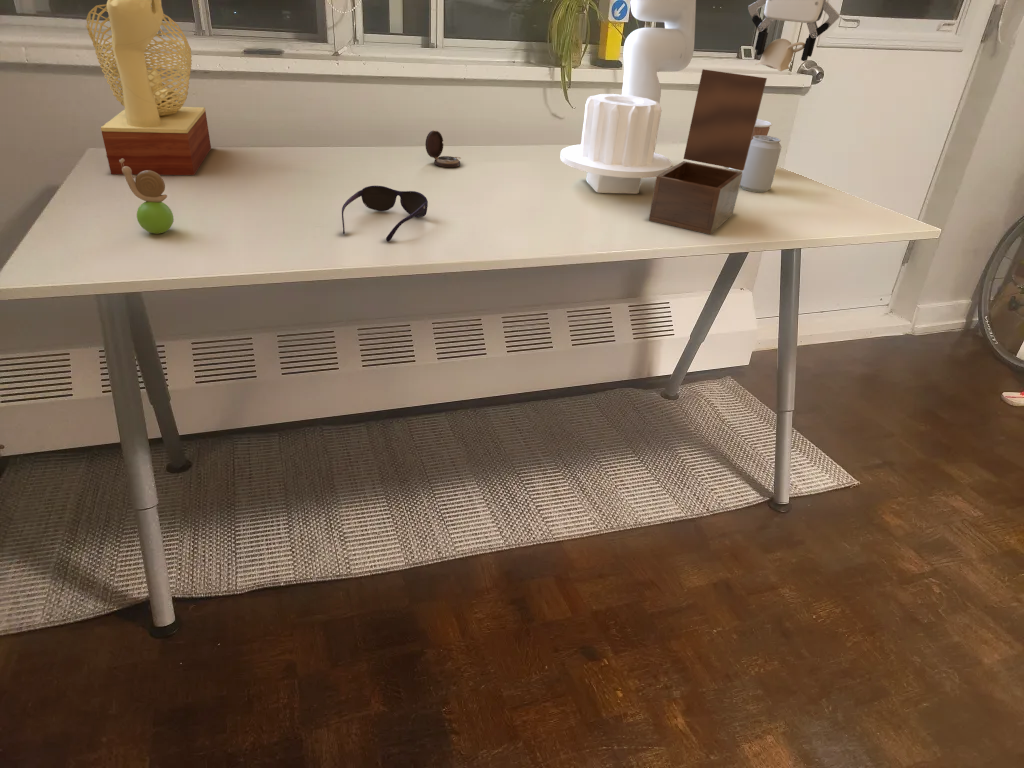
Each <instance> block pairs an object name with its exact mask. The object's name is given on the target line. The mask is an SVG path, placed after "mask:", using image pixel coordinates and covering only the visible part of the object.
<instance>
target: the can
mask: <svg viewBox="0 0 1024 768" xmlns="http://www.w3.org/2000/svg"><path fill="white" fill-rule="evenodd" d="M780 142H781V139H780V138H778V137H775V136H770V135H767V136H764V135H755V136H753V139H752V140H751V143H750V147H749V151H748V155H747V159H746V163H745V167H744V170H742V172H743V174H742V178H741V182H740V187H741V188H742V189H743V190H744V191H747V192H751V193H766V192H768V191H769V190H771V189H772V185H773V182H774V178H775V175H776V171H777V166H778V162H779V159H780V154H781V152H782V144H781V143H780Z"/></svg>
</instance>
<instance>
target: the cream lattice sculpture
mask: <svg viewBox="0 0 1024 768" xmlns="http://www.w3.org/2000/svg"><path fill="white" fill-rule="evenodd" d="M98 9H101V11H100V12H98V13H97V11H98ZM105 12H107V14H108V16H107V17H106V16H103V14H104V13H105ZM91 15H92V17H91ZM96 16H97V17H96ZM95 18H96V20H95ZM100 18H103V19H104V20H102V22H100ZM167 19H168V20H167ZM85 21H86V25H85V27H86V29H87V32H88V33H87V34H88V36H89V38H90V40H91V41H92V45H93V48H94V49H95V51H94V52H95V55H96V58H97V60H98V63H99V64H100V65H99V67H100V68H101V72H102V73H103V74H104V78H105V80H106V83H107V84H108V85H109V89H110V90H111V91H112V95H113V96H114V98H115V100H116V101H118V102H119V103H120V105H121V106H123V107H124V109H122V110H121V111H120V112H119V113H117V114H116V115H115V116H114V117H112V118H111V119H110V120H109V121H107V122H106V123H104V124H103V125H102V126H101V127H100V132H101V135H102V140H103V144H104V149H105V153H106V157H107V158H106V159H107V163H108V167H109V171H110V174H111V175H124V174H123V173H122V167H124V166H128V167H130V168H131V170H132V175H138V174H139V173H140V172H142V171H145V170H150V171H154V172H156V173H158V174H159V175H160V176H167V175H168V176H169V175H170V176H195V175H196V173H197V171H198V170H199V168H200V166H202V164H203V162H204V161H205V159H206V158H207V155H208V154H209V152H210V151H211V149H212V144H211V137H210V131H209V125H208V119H207V113H206V112H207V111H206V107H205V106H204V107H203V106H200V107H197V106H184V105H185V104H186V103H185V102H186V100H187V98H188V94H189V92H188V91H189V88H190V87H189V85H190V79H191V70H192V62H193V60H192V48H191V46H190V43H189V42H188V38H187V37H186V35H185V34H184V31H183V30H182V29H181V27H180V26H179V24H178V23H177V22H175V21H174V20H173V19H172V18H171V17H170V16H168V15H167V14H165V13H164V9H163V6H162V0H107V1H106V3H105V4H98V5H95V6H94V7H93V8H92V9H91V10H90V11H88V13H87V17H86V18H85ZM163 21H164V22H163ZM107 22H109V24H110V25H109V26H108V25H105V24H106V23H107ZM94 24H95V25H94ZM93 25H94V29H93ZM98 26H99V28H98ZM161 26H163V28H164V29H165V30H167V31H166V32H165V31H163V29H162V28H161ZM103 27H104V28H106V29H105V30H104V31H102V29H103ZM97 29H98V30H97ZM109 31H111V34H108V32H109ZM159 31H160V33H159ZM96 34H97V36H96ZM175 34H176V35H175ZM169 35H172V37H171V36H169ZM105 36H108V37H106V38H104V37H105ZM162 36H165V37H166V38H168V39H169V40H166V39H165V38H163V37H162ZM155 37H157V38H159V39H160V40H159V41H157V39H155ZM178 37H179V39H178ZM110 39H111V41H110ZM180 39H181V40H180ZM174 50H175V51H174ZM109 51H110V52H109ZM163 77H164V78H163ZM170 80H171V81H170ZM174 83H176V84H174ZM122 158H123V159H124V160H125V161H124V162H123V163H122V166H121V163H120V162H119V160H121V159H122ZM123 164H124V166H123Z"/></svg>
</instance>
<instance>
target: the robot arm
mask: <svg viewBox="0 0 1024 768" xmlns="http://www.w3.org/2000/svg"><path fill="white" fill-rule="evenodd" d="M762 7H764V10H763V15H764V16H765V18H764V19H762V17H761V16H760V14H759V9H760V8H762ZM696 9H697V0H630V11H631V15H632V16H633V17H634V19H636V20H638V21H642V22H648V23H649V22H650V23H664V27H650V26H649V27H648V26H647V27H639V28H637V29H634V30H633V31H631V32H630V34H628V35H627V36H626V39H625V41H624V44H623V50H622V51H623V80H622V88H621V95H630V96H631V95H632V96H637V97H642V98H648V99H650V100H653V101H657V102H658V103H659V104H660V102H661V97H662V87H661V83H660V80H659V76H658V73H659V72H661V73H662V72H663V73H665V72H666V73H667V72H668V73H670V72H672V73H673V72H680V71H683V70H684V69H686V68H687V67H688V66H689V65H690V63H691V61H692V59H693V56H694V51H695V40H696V38H695V36H696V35H695V34H696V12H697V11H696ZM747 10H748V13H749V15H750V17H751V21H752V23H753V24H754V27H756V30H757V32H758V33H757V38H756V43H755V46H754V51H756V56H762V54H763V52H764V50H765V49H766V45H767V40H768V36H769V32H768V28H770V26H771V25H772V23H774V22H775V21H782V22H791V23H792V22H793V23H800V24H801V23H802V24H806V26H807V29H808V30H807V31H808V32H809V34H808V37H807V38H806V39H805V42H804V43H805V46H804V48H803V49H802V53H801V57H800V61H801V62H806V61H808V58H809V57H812V55H813V51H814V48H815V44H816V41H817V38H818V37H819V36H821V35H822V34H823V33H825V32H826V31H828V30H829V29H830V28H831V27H832V25H833V24H835V23H836V22H837V21H838V20H839V18H840V14H839V12H838V11H837V10H836V9H835V8H834V7H833V5H831V4H830V3H829V1H828V0H756V1H754V2H752V3H751V4H749V5H748V7H747ZM824 12H825V14H826V15H827V16H828V18H827V20H825V22H823V23H822V24H820V25H819V26H818V23H817V22H818V21H820V20H821V18H822V16H823V15H824V14H823V13H824Z"/></svg>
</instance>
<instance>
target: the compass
mask: <svg viewBox="0 0 1024 768" xmlns="http://www.w3.org/2000/svg"><path fill="white" fill-rule="evenodd" d="M443 142H444V138H443V135H442V133H441V132H440V131H438V130H434V129H433V130H430V131H429V132H428V133H427V136H426V137H425V143H424V144H425V151H426V153H427V155H428V156H429V157H430V158H432V159H434V165H436V166H438V167H441V168H456V167H459V166H460V165H461V159H462V157H460V156H449V155H442V153H443V149H444V143H443Z"/></svg>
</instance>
